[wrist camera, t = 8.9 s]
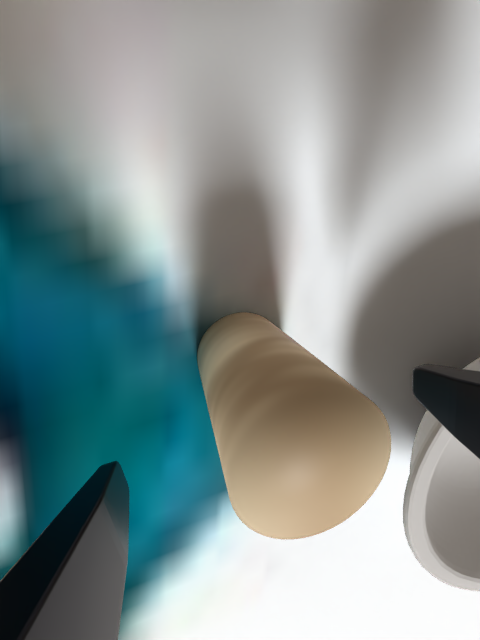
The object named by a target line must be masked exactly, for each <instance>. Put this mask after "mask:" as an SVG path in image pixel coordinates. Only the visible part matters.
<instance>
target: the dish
mask: <svg viewBox="0 0 480 640" xmlns="http://www.w3.org/2000/svg"><path fill="white" fill-rule="evenodd" d="M463 369H467V370H474V371H480V357H479V358H477V359H476V360H474V361H473V362H471V363H470V364H468V365H467V366H466V367H464V368H463ZM403 523H404V529H405V534H406V538H407V541H408V544H409V546H410V548H411V550H412V552H413V554H414V556H415V558H416V559H417V560H418V562H419V563H420V564H421V565H422V567H423V568H425V569H426V570H427V571H428V572H429V573H430V574H431V575H432V576H434V577H435V578H437V579H438V580H440V581H442V582H444V583H446V584H448V585H450V586H453V587H457V588H460V589H465V590H471V591H480V459H479V458H478V457H477V456H475V455H474V454H473V453H472V452H471V451H470V450H469V449H467V448H466V447H465V446H464V445H463V444H462V443H460V442H459V441H458V440H457V439H456V438H455V437H454V436H453V435H452V434H451V433H450V432H449V431H448V430H447V429H446V428H445V427H444V426H443V425H442V424H441V423H440V422H439V421H438V420H437V419H436V418H435V417H434V416H433V415H432V414H431V413H430V412H429V411H428V410H427V411H426V412H425V414H424V416H423V418H422V420H421V423H420V425H419V428H418V431H417V433H416V436H415V440H414V444H413V448H412V454H411V462H410V475H409V478H408V481H407V486H406V490H405V495H404V504H403Z"/></svg>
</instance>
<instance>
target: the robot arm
mask: <svg viewBox="0 0 480 640" xmlns="http://www.w3.org/2000/svg"><path fill="white" fill-rule="evenodd" d="M413 393H414V396H415V397H416V398H417V400H418V401H419V402H420V403H421V404H422V405H423V406H424V407H425V408H426V409H427V410H428V411H429V412H430V413H431V414H432V415H433V416H434V417H435V418H436V419H437V420H438V421H439V422H440V423H441V424H442V425H443V426H444V427H445V428H446V429H447V430H448V431H449V432H450V433H451V434H452V435H453V436H454V437H455V438H456V439H457V440H458V441H459V442H460V443H462V444H463V445H464V446H465V447H466V448H467V449H469V450H470V451H471V452H472V453H473V454H474V455H475V456H477V457H478V458H479V459H480V371H474V370H467V369H459V368H452V367H445V366H438V365H431V364H424V365H421V366H418V367H415V368H414V370H413ZM128 533H129V487H128V483H127V481H126V478H125V476H124V473H123V470H122V468H121V465H120V464H119V462H117V461H114V462H111V463H107V464H104V465H102V466H100V467H99V468H98V469H97V471H96V472H95V473H94V474H93V475H92V476H91V478H90V479H89V480H88V481H87V482H86V483H85V484H84V486H83V487H82V488H81V489H80V490H79V491H78V492H77V494H76V495H75V496H74V497H73V498H72V499H71V500H70V502H69V503H68V504H67V505H66V506H65V507H64V508H63V510H62V511H61V512H60V513H59V514H58V515H57V517H56V518H55V519H54V520H53V521H52V522H51V523H50V525H49V526H48V527H47V528H46V529H45V530H44V531H43V533H42V534H41V535H40V536H39V537H38V538H37V539H36V541H35V542H34V543H33V544H32V545H31V546H30V548H29V549H28V550H27V551H26V552H25V553H24V554H23V556H22V557H21V558H20V559H19V560H18V561H17V562H16V564H15V565H14V566H13V567H12V568H11V569H10V570H9V572H8V573H7V574H6V575H5V576H4V577H3V579H2V580H1V581H0V640H118V634H119V626H120V618H121V610H122V602H123V594H124V586H125V578H126V570H127V560H128Z"/></svg>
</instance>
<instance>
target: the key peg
mask: <svg viewBox="0 0 480 640" xmlns="http://www.w3.org/2000/svg"><path fill="white" fill-rule="evenodd" d="M197 363H198V368H199V372H200V376H201V381H202V385H203V389H204V393H205V397H206V402H207V406H208V410H209V414H210V418H211V423H212V427H213V431H214V435H215V439H216V443H217V448H218V452H219V456H220V460H221V464H222V469H223V473H224V477H225V481H226V485H227V490H228V494H229V498H230V501H231V504H232V507H233V509H234V511H235V513H236V514H237V516H238V517H239V518H240V520H241V521H242V522H243V523H244V524H245V525H246V526H248V527H249V528H250V529H252V530H253V531H255V532H257V533H259V534H262V535H264V536H267V537H271V538H277V539H298V538H305V537H309V536H313V535H316V534H319V533H322V532H324V531H327V530H329V529H331V528H333V527H335V526H337V525H338V524H340V523H342V522H343V521H345V520H346V519H348V518H349V517H350V516H352V515H353V514H354V513H355V512H356V511H358V510H359V509H360V508H361V507H362V506H363V505H364V504H365V503H366V501H367V500H368V499H369V498H370V497H371V495H372V494H373V493H374V491H375V490H376V488H377V487H378V485H379V483H380V482H381V480H382V478H383V476H384V473H385V471H386V469H387V465H388V462H389V458H390V452H391V435H390V430H389V426H388V423H387V420H386V418H385V416H384V414H383V413H382V411H381V410H380V409H379V408H378V406H377V405H376V404H375V403H374V402H372V401H371V400H370V399H369V398H367V397H366V396H365V395H363V394H362V393H361V392H360V391H358V390H357V389H356V388H355V387H353V386H352V385H351V384H349V383H348V382H347V381H346V380H344V379H343V378H342V377H340V376H339V375H338V374H337V373H335V372H334V371H333V370H331V369H330V368H329V367H328V366H326V365H325V364H324V363H323V362H321V361H320V360H319V359H317V358H316V357H315V356H314V355H312V354H311V353H310V352H308V351H307V350H306V349H305V348H303V347H302V346H301V345H300V344H298V343H297V342H296V341H294V340H293V339H292V338H291V337H289V336H288V335H287V334H285V333H284V332H283V331H282V330H280V329H279V328H278V327H276V326H275V325H274V324H273V323H271V322H270V321H269V320H267V319H266V318H264V317H262V316H260V315H258V314H254V313H248V312H239V313H233V314H230V315H227V316H225V317H223V318H221V319H219V320H218V321H216V322H215V323H214V324H213V325H211V326H210V328H209V329H208V330H207V331H206V332H205V334H204V335H203V337H202V339H201V341H200V344H199V347H198V353H197Z"/></svg>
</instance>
